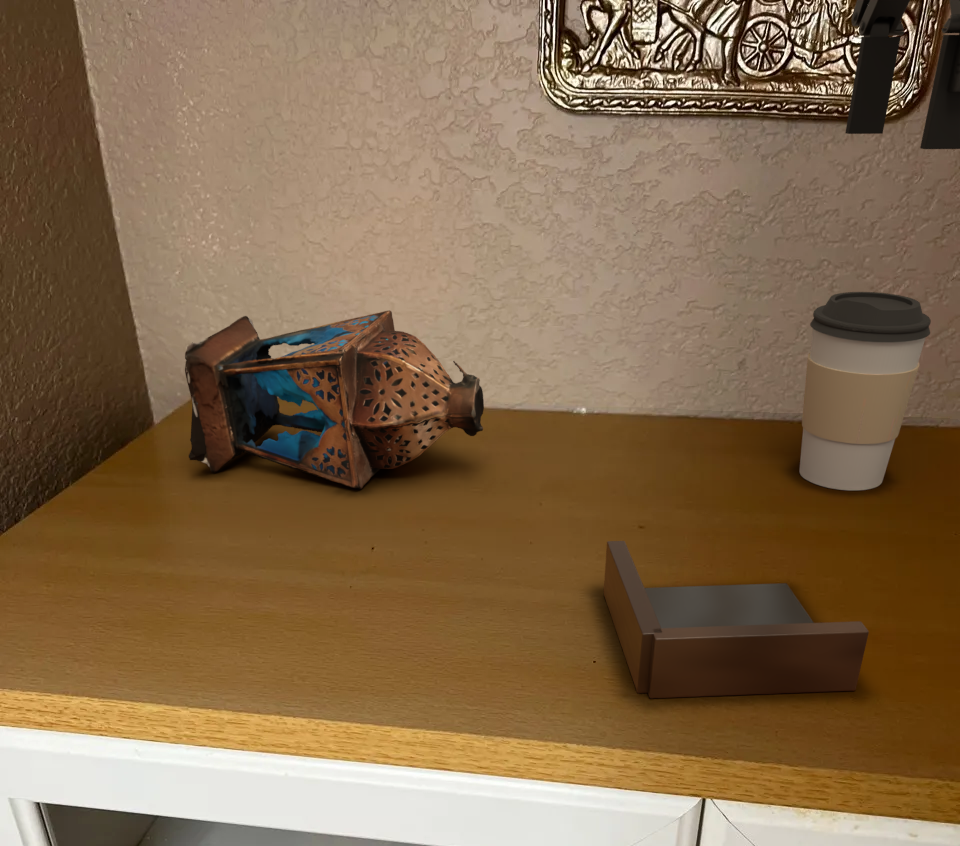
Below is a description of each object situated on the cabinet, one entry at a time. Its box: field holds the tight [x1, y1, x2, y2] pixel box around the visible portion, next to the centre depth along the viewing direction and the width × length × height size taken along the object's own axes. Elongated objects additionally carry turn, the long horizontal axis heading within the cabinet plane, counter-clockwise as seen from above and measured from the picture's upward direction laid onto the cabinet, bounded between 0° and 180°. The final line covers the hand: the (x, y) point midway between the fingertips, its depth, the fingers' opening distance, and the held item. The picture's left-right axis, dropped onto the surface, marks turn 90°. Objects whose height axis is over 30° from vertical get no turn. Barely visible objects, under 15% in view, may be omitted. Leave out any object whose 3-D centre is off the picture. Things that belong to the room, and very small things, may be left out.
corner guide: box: [603, 540, 870, 699], centre depth 60 cm, size 13×13×4 cm
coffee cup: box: [798, 291, 932, 491], centre depth 81 cm, size 9×9×15 cm
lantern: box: [184, 310, 485, 490], centre depth 85 cm, size 16×16×25 cm
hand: (899, 141), depth 72 cm, fingers open, 13 cm apart
